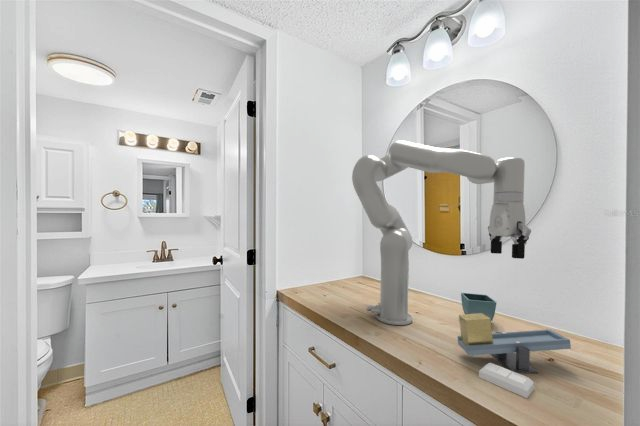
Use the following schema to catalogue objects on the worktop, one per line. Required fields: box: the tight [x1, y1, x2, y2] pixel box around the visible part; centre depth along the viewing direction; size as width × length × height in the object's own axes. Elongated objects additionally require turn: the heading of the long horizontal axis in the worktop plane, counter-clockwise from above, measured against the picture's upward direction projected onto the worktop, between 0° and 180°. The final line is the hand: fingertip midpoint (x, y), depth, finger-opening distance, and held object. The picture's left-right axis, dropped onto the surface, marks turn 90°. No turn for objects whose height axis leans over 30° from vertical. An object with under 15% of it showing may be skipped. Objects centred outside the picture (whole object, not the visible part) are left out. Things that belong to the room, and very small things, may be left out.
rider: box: [458, 313, 493, 346], centre depth 69 cm, size 6×4×7 cm, turn 87°
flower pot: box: [460, 292, 497, 322], centre depth 95 cm, size 9×9×9 cm
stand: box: [491, 331, 539, 375], centre depth 69 cm, size 6×10×6 cm, turn 177°
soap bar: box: [478, 362, 535, 399], centre depth 60 cm, size 5×9×3 cm, turn 39°
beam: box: [457, 328, 572, 357], centre depth 69 cm, size 24×7×2 cm, turn 87°
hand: (506, 255), depth 82 cm, fingers open, 9 cm apart
